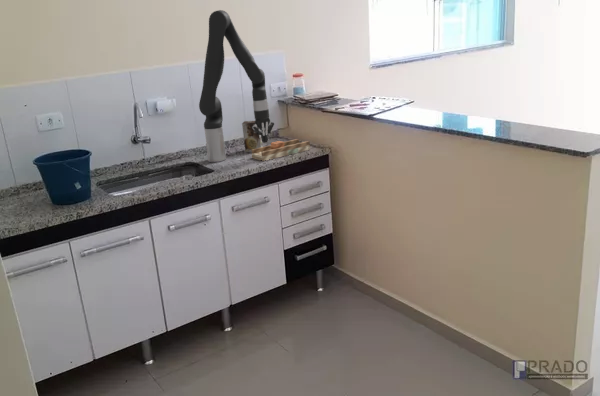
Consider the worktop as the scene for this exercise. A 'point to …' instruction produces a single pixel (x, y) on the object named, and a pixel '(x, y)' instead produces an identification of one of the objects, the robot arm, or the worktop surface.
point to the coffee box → (251, 136)
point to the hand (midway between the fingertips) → (265, 142)
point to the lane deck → (280, 150)
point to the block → (277, 144)
